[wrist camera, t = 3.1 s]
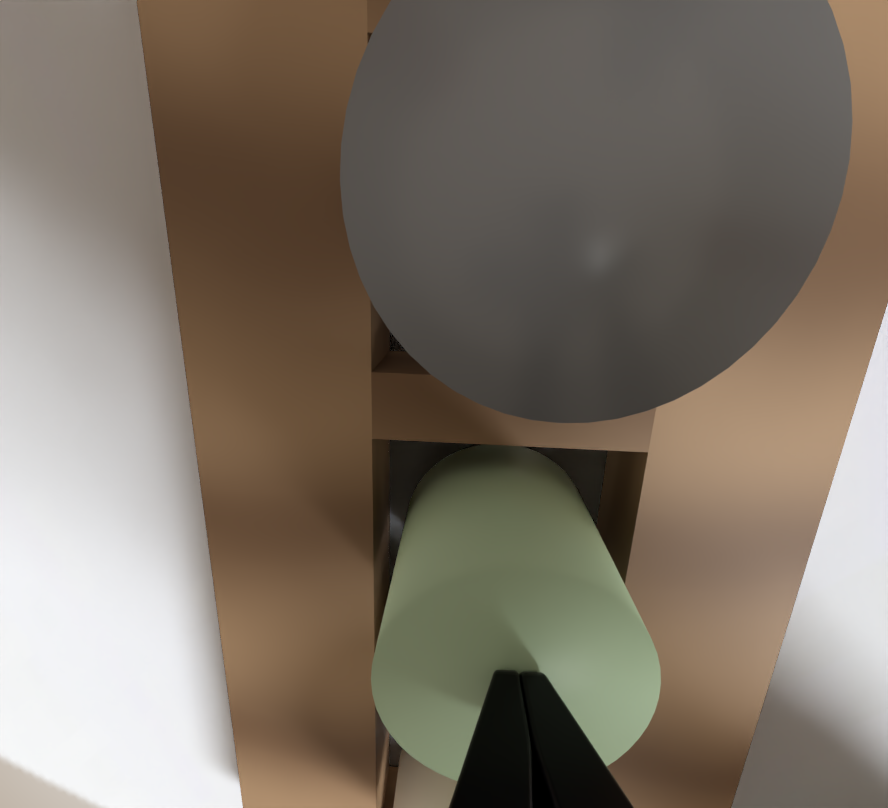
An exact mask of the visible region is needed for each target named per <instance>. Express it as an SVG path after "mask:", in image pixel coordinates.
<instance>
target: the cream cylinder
mask: <svg viewBox="0 0 888 808" xmlns="http://www.w3.org/2000/svg"><path fill="white" fill-rule="evenodd" d="M456 784H457V781H455V780H452V779H450V778H448V777H445V776H443V775H441V774H439V773H437V772H435V771H433V770H431V769H430V768H428V767H426V766H424V765H423V764H421V763H420V762H419V761H417V760H416V759H415V758H413V757H412V756H411V755H409V754H408V753H407V752H406V751H405V750H404V749H403V748H402V751H401V755H400V760H399V767H398V775H397V782H396V790H395V798H394V805H393V808H449V805H450V802H451V799H452V796H453V793H454V790H455V787H456Z"/></svg>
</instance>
